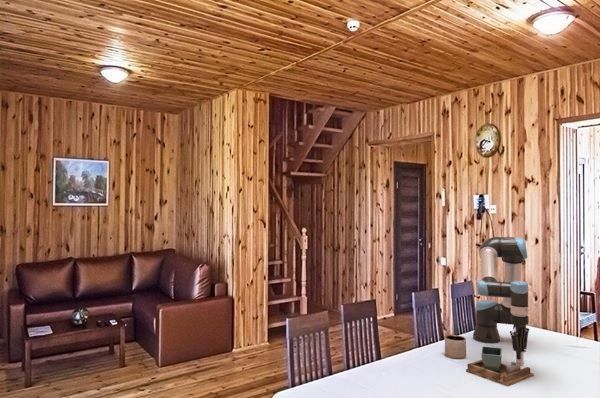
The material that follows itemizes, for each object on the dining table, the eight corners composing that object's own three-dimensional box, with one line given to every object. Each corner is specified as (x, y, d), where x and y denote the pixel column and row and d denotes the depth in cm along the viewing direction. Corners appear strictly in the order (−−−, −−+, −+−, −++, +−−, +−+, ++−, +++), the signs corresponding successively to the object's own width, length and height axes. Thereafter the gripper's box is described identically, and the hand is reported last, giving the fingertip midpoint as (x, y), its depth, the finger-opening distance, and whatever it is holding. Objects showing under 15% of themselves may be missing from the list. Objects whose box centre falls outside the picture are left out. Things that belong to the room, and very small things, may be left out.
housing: (465, 371, 211) (465, 364, 211) (492, 363, 223) (492, 355, 223) (507, 386, 193) (507, 377, 193) (533, 376, 206) (533, 368, 206)
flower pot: (502, 365, 212) (501, 347, 211) (502, 374, 204) (501, 355, 204) (483, 363, 216) (482, 346, 215) (482, 372, 208) (481, 353, 207)
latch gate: (506, 376, 201) (506, 363, 201) (516, 372, 206) (516, 360, 206) (510, 378, 199) (510, 365, 199) (521, 374, 204) (520, 361, 204)
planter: (444, 357, 231) (444, 339, 231) (445, 351, 241) (445, 333, 241) (466, 360, 227) (466, 341, 227) (466, 354, 237) (466, 336, 237)
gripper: (520, 318, 199) (520, 370, 199) (534, 314, 207) (535, 365, 206) (504, 315, 205) (504, 365, 205) (519, 311, 213) (519, 360, 212)
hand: (519, 365), depth 205 cm, fingers closed
